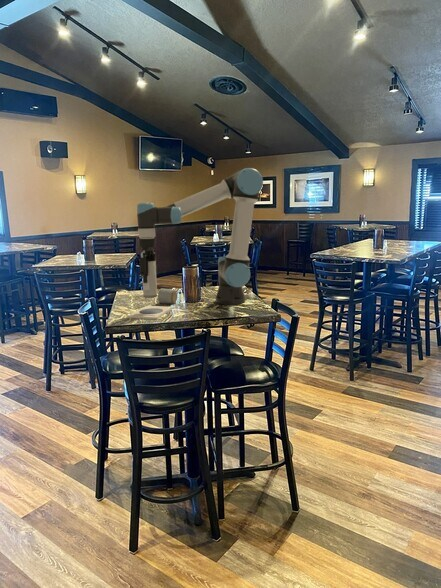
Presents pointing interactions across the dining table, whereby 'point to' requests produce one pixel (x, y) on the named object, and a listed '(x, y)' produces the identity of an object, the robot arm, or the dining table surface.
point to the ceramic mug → (167, 296)
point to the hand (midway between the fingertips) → (149, 288)
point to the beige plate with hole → (150, 312)
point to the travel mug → (151, 278)
